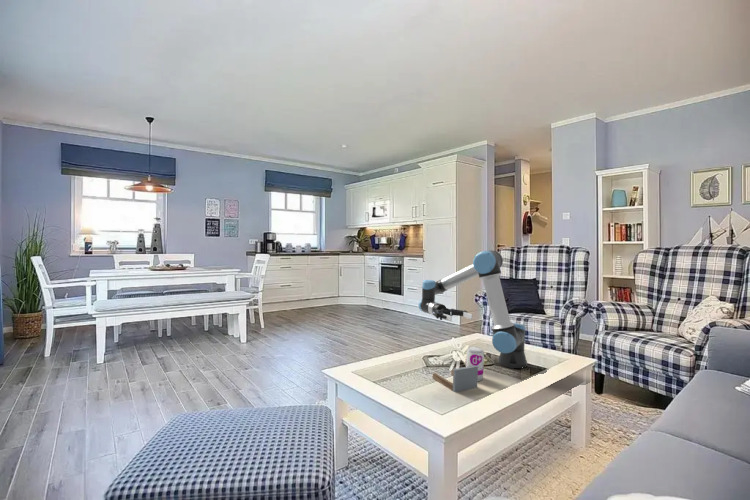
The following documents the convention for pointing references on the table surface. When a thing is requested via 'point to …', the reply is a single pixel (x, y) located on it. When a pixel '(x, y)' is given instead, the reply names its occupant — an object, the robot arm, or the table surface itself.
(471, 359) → the supplement can
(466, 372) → the block
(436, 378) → the channel
